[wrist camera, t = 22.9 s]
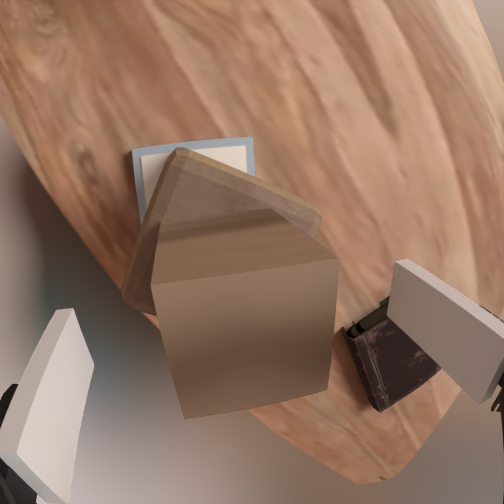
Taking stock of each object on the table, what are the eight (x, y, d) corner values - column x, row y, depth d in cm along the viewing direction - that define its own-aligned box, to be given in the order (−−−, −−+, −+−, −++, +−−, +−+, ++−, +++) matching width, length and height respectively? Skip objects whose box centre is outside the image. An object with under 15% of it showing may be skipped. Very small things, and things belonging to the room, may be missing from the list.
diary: (367, 400, 61) (378, 415, 56) (336, 326, 51) (350, 343, 46) (434, 353, 61) (446, 366, 56) (421, 269, 51) (439, 281, 46)
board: (133, 148, 34) (131, 149, 33) (250, 136, 37) (253, 136, 35) (148, 260, 39) (147, 265, 37) (256, 246, 42) (259, 250, 40)
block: (143, 224, 36) (115, 309, 17) (175, 144, 34) (172, 144, 15) (221, 252, 39) (263, 351, 21) (254, 176, 37) (333, 214, 19)
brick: (161, 220, 16) (150, 285, 9) (270, 208, 18) (339, 258, 10) (176, 318, 18) (184, 419, 11) (273, 303, 20) (327, 389, 12)
